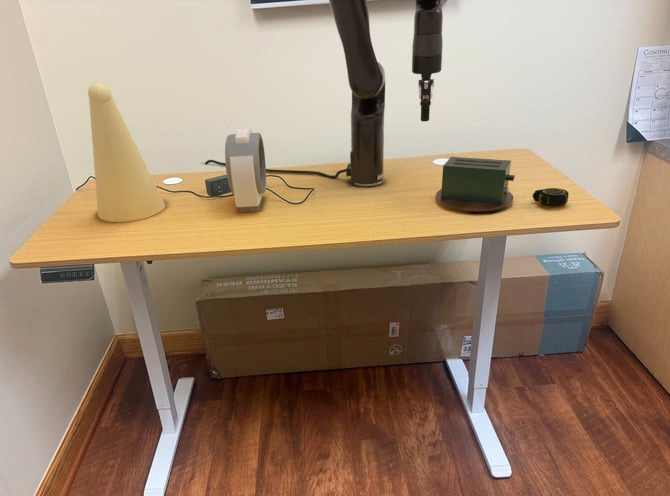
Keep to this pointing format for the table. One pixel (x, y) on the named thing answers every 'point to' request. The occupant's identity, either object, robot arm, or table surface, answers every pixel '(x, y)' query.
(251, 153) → the alarm clock
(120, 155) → the cone light
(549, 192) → the tape measure
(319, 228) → the table surface
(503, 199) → the toaster
